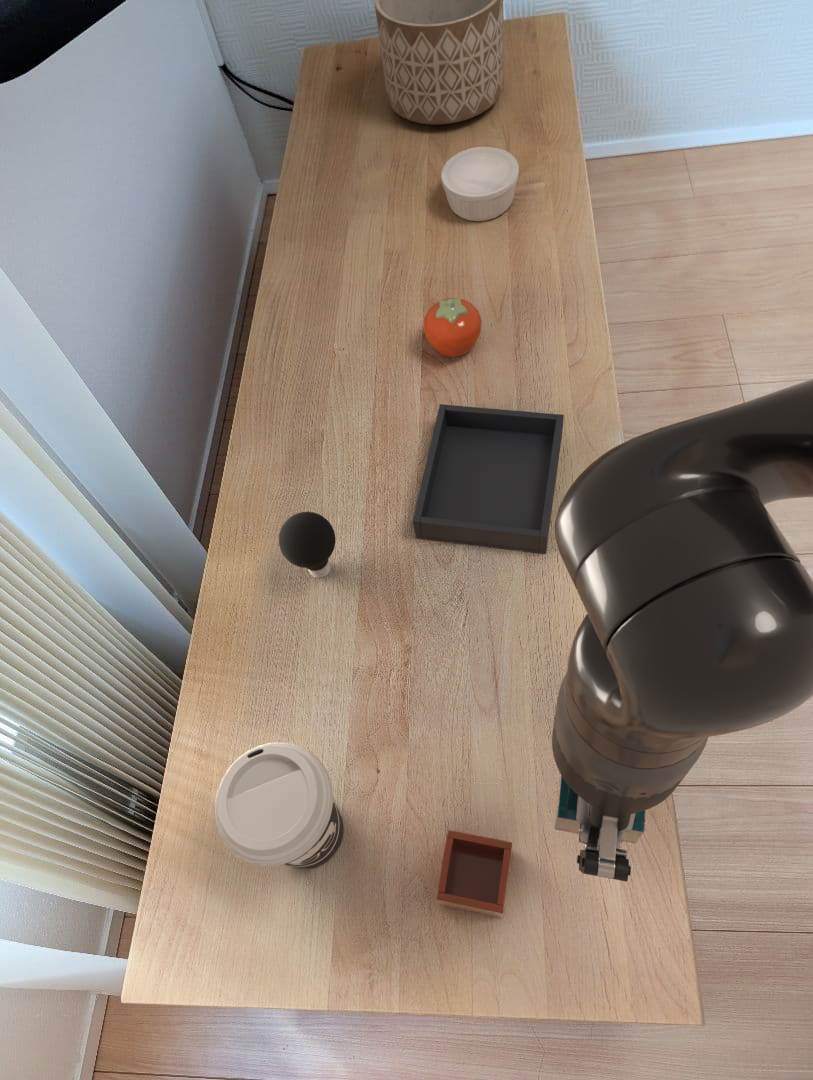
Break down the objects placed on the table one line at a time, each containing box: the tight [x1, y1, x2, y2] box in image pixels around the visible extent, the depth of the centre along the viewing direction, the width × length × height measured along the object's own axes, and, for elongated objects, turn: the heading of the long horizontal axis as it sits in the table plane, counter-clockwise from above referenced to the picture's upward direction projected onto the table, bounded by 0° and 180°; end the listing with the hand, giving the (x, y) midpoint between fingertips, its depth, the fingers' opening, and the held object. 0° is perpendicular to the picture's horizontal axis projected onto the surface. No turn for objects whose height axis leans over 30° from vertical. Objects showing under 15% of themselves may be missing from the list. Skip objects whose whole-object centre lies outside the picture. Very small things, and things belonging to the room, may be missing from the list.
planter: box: [373, 0, 505, 126], centre depth 123 cm, size 19×19×16 cm
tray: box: [412, 403, 565, 555], centre depth 89 cm, size 15×17×4 cm
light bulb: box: [278, 511, 336, 579], centre depth 83 cm, size 6×6×10 cm
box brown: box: [435, 829, 513, 919], centre depth 68 cm, size 6×6×4 cm
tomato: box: [423, 297, 482, 358], centre depth 99 cm, size 7×7×8 cm
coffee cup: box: [214, 741, 344, 870], centre depth 67 cm, size 10×10×15 cm
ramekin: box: [440, 146, 520, 222], centre depth 114 cm, size 11×11×5 cm
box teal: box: [553, 773, 647, 845], centre depth 54 cm, size 6×6×4 cm
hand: (598, 794), depth 56 cm, fingers closed on box teal, 5 cm apart
